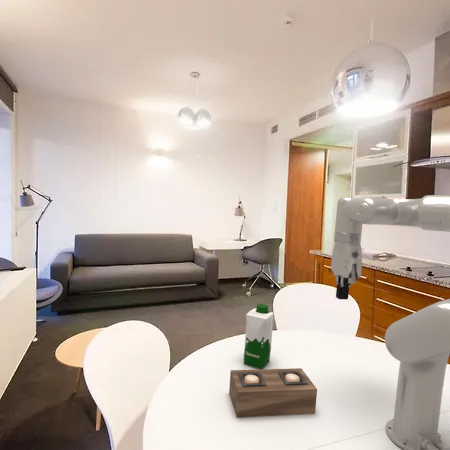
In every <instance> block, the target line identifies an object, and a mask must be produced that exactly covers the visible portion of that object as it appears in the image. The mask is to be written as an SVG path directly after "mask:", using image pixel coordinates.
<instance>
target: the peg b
mask: <svg viewBox="0 0 450 450" xmlns="http://www.w3.org/2000/svg"><path fill="white" fill-rule="evenodd" d="M285 379H286V380H287V382H299V381H300V378H299V376H297V375H295V374H286V376H285Z"/></svg>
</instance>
